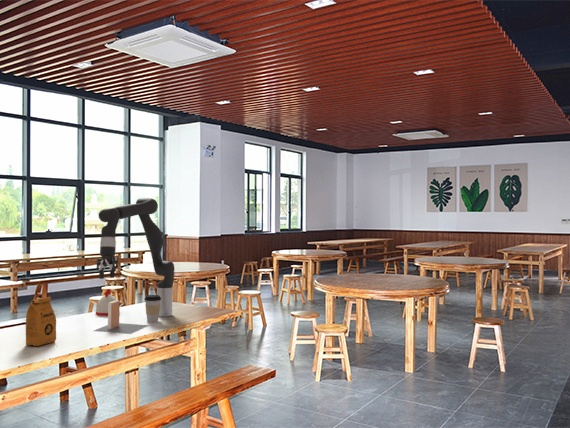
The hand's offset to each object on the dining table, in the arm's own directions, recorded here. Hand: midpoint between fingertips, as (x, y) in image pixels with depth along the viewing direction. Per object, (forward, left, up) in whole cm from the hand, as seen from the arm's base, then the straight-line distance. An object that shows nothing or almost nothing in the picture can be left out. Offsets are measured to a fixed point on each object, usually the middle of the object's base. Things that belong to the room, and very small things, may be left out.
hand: (106, 278), depth 259 cm
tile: (-16, +6, -29) cm, 34 cm away
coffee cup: (-22, +29, -30) cm, 47 cm away
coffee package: (+3, -30, -30) cm, 42 cm away
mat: (-12, +10, -30) cm, 33 cm away
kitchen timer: (-57, +10, -30) cm, 65 cm away
